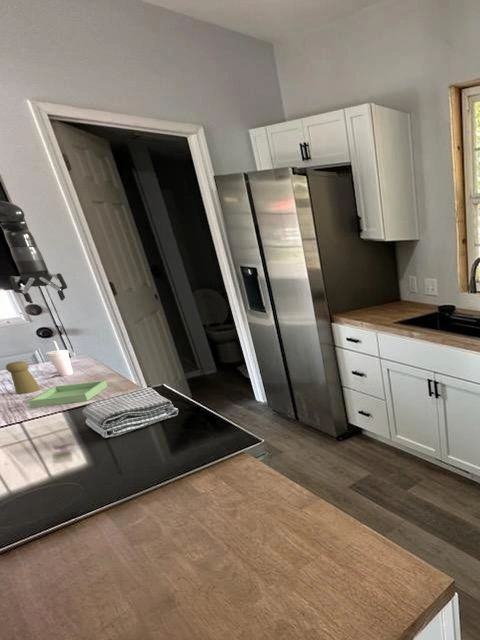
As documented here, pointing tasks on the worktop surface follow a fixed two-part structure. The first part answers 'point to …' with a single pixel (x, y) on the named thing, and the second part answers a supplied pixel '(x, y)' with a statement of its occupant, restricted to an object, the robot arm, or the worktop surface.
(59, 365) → the smoothie
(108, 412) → the towel
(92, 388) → the tray
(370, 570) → the worktop surface
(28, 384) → the cork
